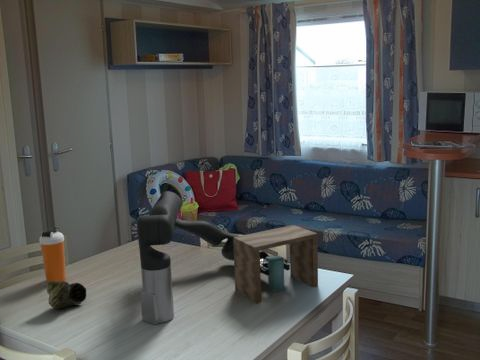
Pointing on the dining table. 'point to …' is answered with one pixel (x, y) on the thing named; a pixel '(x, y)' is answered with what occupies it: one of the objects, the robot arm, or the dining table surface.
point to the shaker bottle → (53, 254)
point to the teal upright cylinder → (276, 273)
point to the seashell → (65, 294)
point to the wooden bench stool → (251, 244)
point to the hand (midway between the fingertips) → (278, 270)
